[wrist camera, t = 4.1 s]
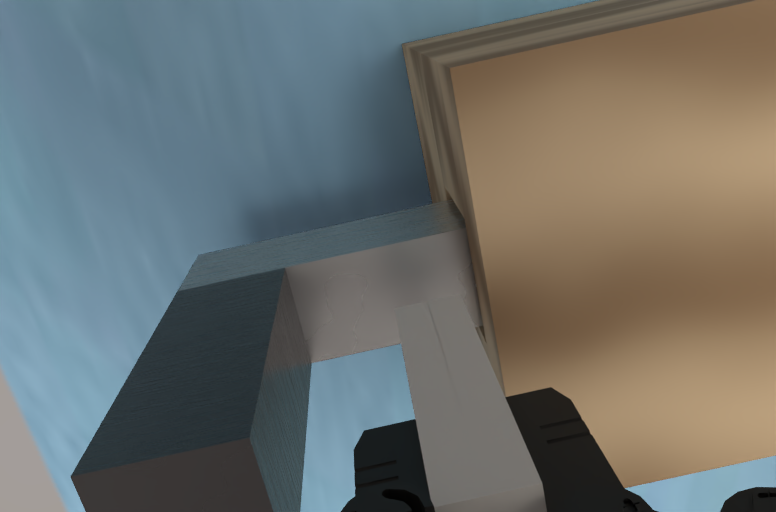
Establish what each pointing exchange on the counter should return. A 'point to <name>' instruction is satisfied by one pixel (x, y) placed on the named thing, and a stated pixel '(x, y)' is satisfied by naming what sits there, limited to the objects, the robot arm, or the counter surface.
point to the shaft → (262, 360)
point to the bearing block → (620, 216)
